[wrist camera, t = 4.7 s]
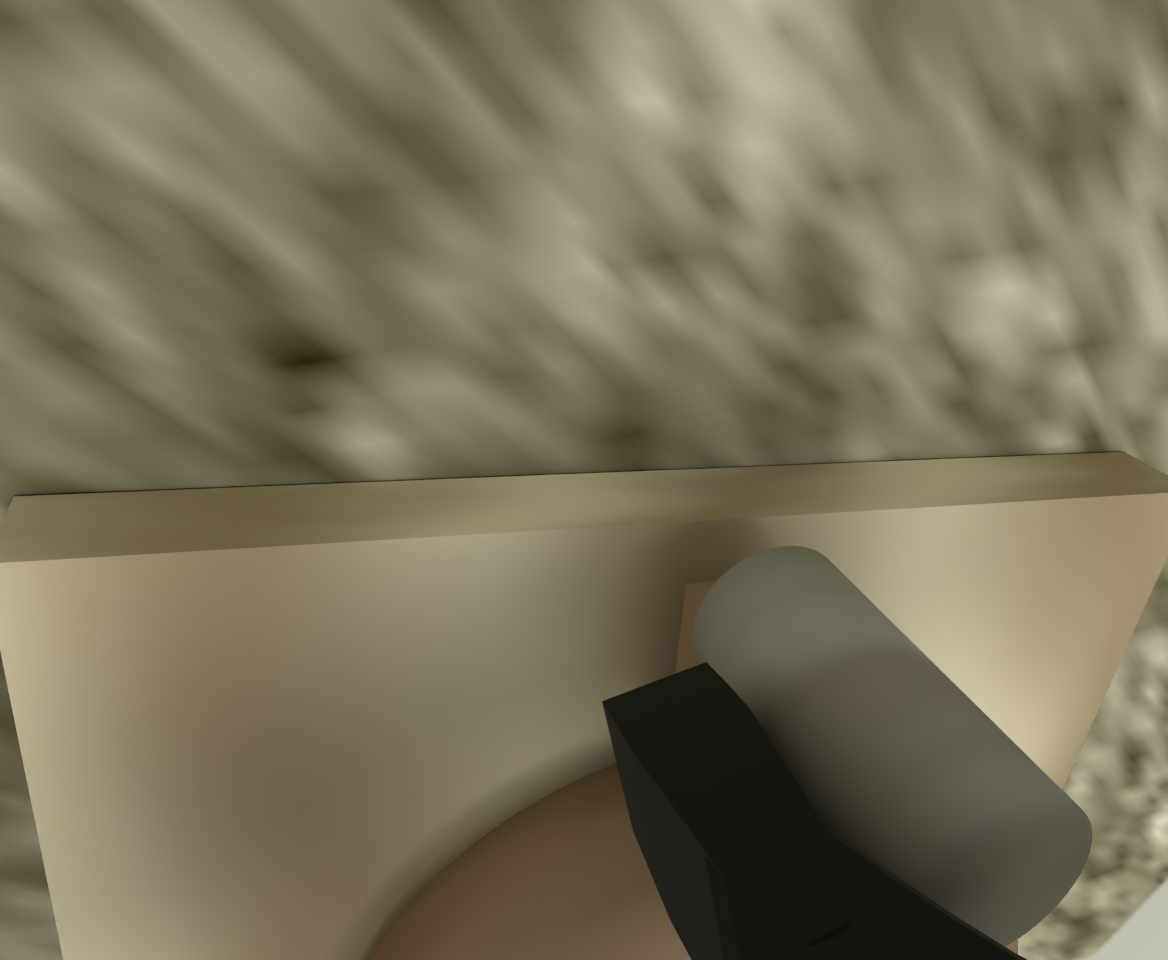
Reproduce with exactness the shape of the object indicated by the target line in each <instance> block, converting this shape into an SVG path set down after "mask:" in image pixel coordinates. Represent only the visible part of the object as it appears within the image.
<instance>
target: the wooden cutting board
mask: <svg viewBox="0 0 1168 960" xmlns="http://www.w3.org/2000/svg"><path fill="white" fill-rule="evenodd" d="M780 546H802V547H806V548H810V549H813V550H815V551H818V552H819V553H821V554H823V555H824V556H825V557H826V558H828V559H829V560H830V561H831V562H832V563H833V564H834V565H835V566H836V567H837V568H838V569H839V570H840V571H841V572H842V573H843V574H844V575H845V576H846V577H847V578H848V579H849V580H850V581H851V582H852V583H853V584H854V585H855V586H856V587H857V588H858V589H859V590H860V591H861V592H862V593H863V594H864V595H865V596H866V597H867V598H868V599H869V600H870V601H871V602H872V603H873V604H874V605H875V606H876V607H877V608H878V609H880V610H881V611H882V612H883V613H884V614H885V615H886V616H887V617H888V618H889V619H890V620H891V621H892V622H893V623H894V624H895V625H896V626H897V627H898V628H899V629H900V630H901V631H902V632H903V633H904V634H905V635H906V636H907V637H908V638H909V639H910V640H911V641H912V642H913V643H914V644H915V645H916V646H917V647H918V648H919V649H920V650H921V651H922V652H923V653H924V654H925V655H926V656H927V657H928V658H929V659H930V660H931V661H932V662H933V663H934V664H935V665H936V666H937V667H938V668H939V669H940V670H941V671H942V672H943V673H944V674H945V675H946V676H947V677H948V678H949V679H950V680H951V681H952V682H953V683H954V684H955V685H956V686H957V687H958V688H959V689H960V690H961V691H962V692H963V693H965V694H966V695H967V696H968V697H969V698H970V699H971V700H972V701H973V702H974V703H975V704H976V705H977V706H978V707H979V708H980V709H981V710H982V711H983V712H984V713H985V714H986V715H987V716H988V717H989V718H990V719H991V720H992V721H993V722H994V723H995V724H996V725H997V726H998V727H999V728H1000V729H1001V730H1002V731H1003V732H1004V733H1005V734H1006V735H1007V736H1008V737H1009V738H1010V739H1011V740H1012V741H1013V742H1014V743H1015V744H1016V745H1017V746H1018V747H1019V748H1020V749H1021V750H1022V751H1023V752H1024V753H1025V754H1026V755H1027V756H1028V757H1029V758H1030V759H1031V760H1032V761H1033V762H1034V763H1035V764H1036V765H1037V766H1038V767H1039V768H1040V769H1041V770H1042V771H1043V772H1044V773H1045V774H1046V775H1047V776H1048V777H1050V778H1051V779H1052V780H1053V781H1054V782H1055V783H1056V784H1057V785H1058V786H1059V787H1060V788H1061V789H1062V790H1063V787H1064V785H1065V783H1066V781H1067V779H1068V776H1069V774H1070V772H1071V770H1072V767H1073V765H1074V763H1075V761H1076V759H1077V756H1078V754H1079V752H1080V750H1081V747H1082V745H1083V743H1084V741H1085V739H1086V736H1087V734H1088V732H1089V730H1090V727H1091V725H1092V723H1093V721H1094V719H1095V716H1096V714H1097V712H1098V710H1099V707H1100V705H1101V703H1102V701H1103V699H1104V696H1105V694H1106V692H1107V690H1108V687H1109V685H1110V683H1111V681H1112V679H1113V676H1114V674H1115V672H1116V670H1117V667H1118V665H1119V663H1120V661H1121V659H1122V656H1123V654H1124V652H1125V650H1126V648H1127V645H1128V643H1129V641H1130V639H1131V636H1132V634H1133V632H1134V630H1135V628H1136V625H1137V623H1138V621H1139V619H1140V616H1141V614H1142V612H1143V610H1144V608H1145V605H1146V603H1147V601H1148V599H1149V596H1150V594H1151V592H1152V590H1153V588H1154V585H1155V583H1156V581H1157V579H1158V576H1159V574H1160V572H1161V570H1162V568H1163V565H1164V563H1165V561H1166V559H1167V556H1168V475H1166V474H1164V473H1162V472H1160V471H1158V470H1156V469H1155V468H1153V467H1151V466H1149V465H1147V464H1145V463H1143V462H1141V461H1140V460H1138V459H1136V458H1134V457H1132V456H1130V455H1128V454H1126V453H1125V452H1106V453H1081V454H1056V455H1031V456H1007V457H982V458H957V459H932V460H907V461H882V462H857V463H832V464H807V465H782V466H758V467H733V468H708V469H683V470H658V471H633V472H608V473H583V474H558V475H533V476H509V477H484V478H459V479H434V480H409V481H384V482H359V483H334V484H309V485H284V486H260V487H235V488H210V489H185V490H160V491H135V492H110V493H85V494H60V495H35V496H14V497H13V499H12V502H11V504H10V506H9V508H8V510H7V512H6V515H5V517H4V519H3V521H2V523H1V525H0V652H1V657H2V661H3V666H4V671H5V676H6V681H7V686H8V691H9V696H10V701H11V706H12V711H13V715H14V720H15V725H16V730H17V735H18V740H19V745H20V750H21V755H22V760H23V765H24V770H25V774H26V779H27V784H28V789H29V794H30V799H31V804H32V809H33V814H34V819H35V824H36V828H37V833H38V838H39V843H40V848H41V853H42V858H43V863H44V868H45V873H46V878H47V882H48V887H49V892H50V897H51V902H52V907H53V912H54V917H55V922H56V927H57V932H58V937H59V941H60V946H61V951H62V956H63V960H370V958H371V957H372V955H373V953H374V952H375V950H376V948H377V946H378V945H379V943H380V941H381V940H382V939H383V937H384V936H385V935H386V933H387V932H388V931H389V929H390V928H391V927H392V925H393V924H394V923H395V922H396V920H397V919H398V918H399V916H400V915H401V914H402V912H403V911H404V910H405V908H406V907H407V906H408V905H409V904H410V903H411V902H412V901H413V900H414V899H415V898H416V897H417V896H418V895H419V893H420V892H421V891H422V890H423V889H424V888H425V887H426V886H427V885H428V884H429V883H430V882H431V881H432V880H433V879H434V878H435V877H436V876H437V875H438V874H439V873H440V872H441V871H442V870H443V869H445V868H446V867H447V866H448V865H449V864H450V863H452V862H453V861H454V860H455V859H456V858H457V857H459V856H460V855H461V854H462V853H463V852H465V851H466V850H467V849H468V848H469V847H470V846H472V845H473V844H474V843H475V842H476V841H478V840H479V839H481V838H482V837H484V836H485V835H486V834H488V833H489V832H491V831H492V830H494V829H495V828H496V827H498V826H499V825H501V824H502V823H504V822H505V821H506V820H508V819H509V818H511V817H512V816H514V815H515V814H516V813H518V812H520V811H521V810H523V809H525V808H527V807H528V806H530V805H532V804H534V803H535V802H537V801H539V800H541V799H542V798H544V797H546V796H548V795H550V794H551V793H553V792H555V791H557V790H558V789H560V788H562V787H564V786H566V785H568V784H570V783H573V782H575V781H577V780H579V779H581V778H583V777H586V776H588V775H590V774H592V773H594V772H597V771H599V770H601V769H603V768H605V767H608V766H610V765H613V764H616V763H617V762H616V758H615V754H614V750H613V746H612V742H611V737H610V733H609V729H608V725H607V721H606V716H605V712H604V708H603V704H602V701H604V700H607V699H609V698H612V697H614V696H617V695H620V694H622V693H625V692H628V691H630V690H633V689H636V688H638V687H641V686H644V685H646V684H649V683H652V682H654V681H657V680H659V679H662V678H665V677H667V676H670V675H673V674H675V670H676V662H677V654H678V645H679V637H680V628H681V620H682V612H683V603H684V595H685V587H686V584H691V583H698V582H705V581H712V580H718V579H719V578H720V577H721V576H722V575H723V574H725V573H726V572H727V571H728V570H729V569H730V568H732V567H733V566H734V565H736V564H737V563H739V562H740V561H742V560H744V559H746V558H747V557H749V556H751V555H753V554H756V553H758V552H760V551H763V550H767V549H770V548H774V547H780Z"/></svg>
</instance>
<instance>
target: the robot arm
mask: <svg viewBox="0 0 1168 960" xmlns="http://www.w3.org/2000/svg"><path fill="white" fill-rule="evenodd" d="M602 704H603V708H604V712H605V716H606V721H607V725H608V729H609V733H610V737H611V742H612V746H613V750H614V754H615V758H616V762H617V767H618V771H619V775H620V779H621V783H622V788H623V792H624V796H625V800H626V804H627V808H628V813H629V817H630V821H631V825H632V829H633V832H634V834H635V837H636V839H637V842H638V844H639V846H640V849H641V851H642V854H643V856H644V859H645V861H646V863H647V866H648V868H649V871H650V873H651V876H652V878H653V880H654V883H655V885H656V887H657V890H658V892H659V895H660V897H661V899H662V902H663V904H664V906H665V909H666V911H667V914H668V916H669V918H670V921H671V922H672V924H673V926H674V928H675V930H676V932H677V934H678V936H679V938H680V939H681V941H682V943H683V945H684V947H685V949H686V951H687V953H688V954H689V956H690V958H691V960H1026V959H1025V958H1023V957H1021V956H1020V955H1018V954H1016V953H1014V952H1013V951H1011V950H1010V949H1008V948H1006V947H1005V946H1003V945H1002V944H1000V943H998V942H997V941H995V940H993V939H992V938H990V937H989V936H987V935H985V934H984V933H982V932H981V931H979V930H977V929H976V928H974V927H973V926H971V925H969V924H968V923H966V922H965V921H963V920H961V919H960V918H958V917H957V916H955V915H954V914H952V913H951V912H949V911H948V910H946V909H944V908H943V907H941V906H940V905H938V904H937V903H935V902H934V901H932V900H931V899H929V898H928V897H926V896H925V895H923V894H922V893H920V892H919V891H918V890H916V889H915V888H913V887H912V886H910V885H909V884H907V883H906V882H904V881H903V880H901V879H900V878H899V877H897V876H896V875H894V874H893V873H892V872H890V871H889V870H887V869H886V868H885V867H883V866H882V865H880V864H879V863H878V862H876V861H875V860H873V859H872V858H870V857H869V856H868V855H866V854H865V853H863V852H862V851H861V850H859V849H858V848H856V847H855V846H854V845H852V844H851V843H850V842H848V841H847V840H846V839H844V838H843V837H842V836H840V835H839V834H838V833H836V832H835V831H834V830H832V829H831V828H830V827H828V826H827V825H826V824H824V823H823V822H822V821H821V820H819V818H818V817H817V815H816V813H815V812H814V810H813V809H812V807H811V805H810V804H809V802H808V801H807V799H806V797H805V796H804V794H803V793H802V791H801V789H800V788H799V786H798V785H797V783H796V781H795V780H794V778H793V777H792V775H791V773H790V772H789V770H788V768H787V767H786V765H785V764H784V762H783V760H782V759H781V757H780V756H779V754H778V752H777V751H776V749H775V748H774V746H773V745H772V743H771V741H770V740H769V738H768V737H767V735H766V734H765V732H764V730H763V729H762V727H761V726H760V724H759V722H758V721H757V719H756V718H755V716H754V715H753V713H752V712H751V710H750V709H749V707H748V706H747V705H746V704H745V703H744V701H743V700H742V699H741V698H740V697H739V696H738V695H737V693H736V692H735V691H734V690H733V689H732V688H731V687H730V686H729V684H728V683H727V682H726V681H725V680H724V679H723V678H722V677H721V676H720V675H719V674H718V673H717V672H716V671H715V670H714V669H713V668H712V667H711V666H710V665H709V664H708V663H707V662H705V663H702V664H699V665H697V666H694V667H691V668H689V669H686V670H683V671H681V672H678V673H675V674H673V675H670V676H667V677H665V678H662V679H659V680H657V681H654V682H652V683H649V684H646V685H644V686H641V687H638V688H636V689H633V690H630V691H628V692H625V693H622V694H620V695H617V696H614V697H612V698H609V699H607V700H604V701H602Z"/></svg>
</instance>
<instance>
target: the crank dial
mask: <svg viewBox="0 0 1168 960" xmlns="http://www.w3.org/2000/svg"><path fill="white" fill-rule="evenodd" d="M705 662H707V663H708V664H709V665H710V666H711V667H712V668H713V669H714V670H715V671H716V672H717V673H718V674H719V675H720V676H721V677H722V678H723V679H724V680H725V681H726V682H727V683H728V684H729V686H730V687H731V688H732V689H733V690H734V691H735V692H736V693H737V695H738V696H739V697H740V698H741V699H742V700H743V701H744V703H745V704H746V705H747V706H748V707H749V709H750V710H751V712H752V713H753V715H754V716H755V718H756V719H757V721H758V722H759V724H760V726H761V727H762V729H763V730H764V732H765V734H766V735H767V737H768V738H769V740H770V741H771V743H772V745H773V746H774V748H775V749H776V751H777V752H778V754H779V756H780V757H781V759H782V760H783V762H784V764H785V765H786V767H787V768H788V770H789V772H790V773H791V775H792V777H793V778H794V780H795V781H796V783H797V785H798V786H799V788H800V789H801V791H802V793H803V794H804V796H805V797H806V799H807V801H808V802H809V804H810V805H811V807H812V809H813V810H814V812H815V813H816V815H817V817H818V818H819V820H821V821H822V822H823V823H824V824H826V825H827V826H828V827H830V828H831V829H832V830H834V831H835V832H836V833H838V834H839V835H840V836H842V837H843V838H844V839H846V840H847V841H848V842H850V843H851V844H852V845H854V846H855V847H856V848H858V849H859V850H861V851H862V852H863V853H865V854H866V855H868V856H869V857H870V858H872V859H873V860H875V861H876V862H878V863H879V864H880V865H882V866H883V867H885V868H886V869H887V870H889V871H890V872H892V873H893V874H894V875H896V876H897V877H899V878H900V879H901V880H903V881H904V882H906V883H907V884H909V885H910V886H912V887H913V888H915V889H916V890H918V891H919V892H920V893H922V894H923V895H925V896H926V897H928V898H929V899H931V900H932V901H934V902H935V903H937V904H938V905H940V906H941V907H943V908H944V909H946V910H948V911H949V912H951V913H952V914H954V915H955V916H957V917H958V918H960V919H961V920H963V921H965V922H966V923H968V924H969V925H971V926H973V927H974V928H976V929H977V930H979V931H981V932H982V933H984V934H985V935H987V936H989V937H990V938H992V939H993V940H995V941H997V942H998V943H1000V944H1002V945H1003V946H1005V947H1006V948H1008V949H1010V950H1011V951H1013V952H1014V953H1016V954H1018V938H1020V937H1021V936H1022V935H1024V934H1025V933H1027V932H1028V931H1029V930H1030V929H1032V928H1033V927H1034V926H1036V925H1037V924H1038V923H1039V922H1040V921H1041V920H1042V919H1044V918H1045V917H1046V916H1047V915H1048V914H1049V913H1050V912H1051V911H1052V910H1053V909H1054V908H1055V907H1056V906H1057V905H1058V904H1059V902H1060V901H1061V900H1062V899H1063V898H1064V897H1065V895H1066V894H1067V893H1068V891H1069V890H1070V889H1071V887H1072V886H1073V885H1074V883H1075V882H1076V880H1077V878H1078V877H1079V875H1080V873H1081V871H1082V869H1083V867H1084V865H1085V863H1086V861H1087V858H1088V855H1089V852H1090V848H1091V843H1092V829H1091V824H1090V821H1089V819H1088V817H1087V815H1086V814H1085V813H1084V811H1083V810H1082V809H1081V808H1080V807H1079V806H1078V805H1077V804H1076V803H1075V802H1074V801H1073V800H1072V799H1071V798H1070V797H1069V796H1068V795H1067V794H1066V793H1065V792H1064V791H1063V790H1062V789H1061V788H1060V787H1059V786H1058V785H1057V784H1056V783H1055V782H1054V781H1053V780H1052V779H1051V778H1050V777H1048V776H1047V775H1046V774H1045V773H1044V772H1043V771H1042V770H1041V769H1040V768H1039V767H1038V766H1037V765H1036V764H1035V763H1034V762H1033V761H1032V760H1031V759H1030V758H1029V757H1028V756H1027V755H1026V754H1025V753H1024V752H1023V751H1022V750H1021V749H1020V748H1019V747H1018V746H1017V745H1016V744H1015V743H1014V742H1013V741H1012V740H1011V739H1010V738H1009V737H1008V736H1007V735H1006V734H1005V733H1004V732H1003V731H1002V730H1001V729H1000V728H999V727H998V726H997V725H996V724H995V723H994V722H993V721H992V720H991V719H990V718H989V717H988V716H987V715H986V714H985V713H984V712H983V711H982V710H981V709H980V708H979V707H978V706H977V705H976V704H975V703H974V702H973V701H972V700H971V699H970V698H969V697H968V696H967V695H966V694H965V693H963V692H962V691H961V690H960V689H959V688H958V687H957V686H956V685H955V684H954V683H953V682H952V681H951V680H950V679H949V678H948V677H947V676H946V675H945V674H944V673H943V672H942V671H941V670H940V669H939V668H938V667H937V666H936V665H935V664H934V663H933V662H932V661H931V660H930V659H929V658H928V657H927V656H926V655H925V654H924V653H923V652H922V651H921V650H920V649H919V648H918V647H917V646H916V645H915V644H914V643H913V642H912V641H911V640H910V639H909V638H908V637H907V636H906V635H905V634H904V633H903V632H902V631H901V630H900V629H899V628H898V627H897V626H896V625H895V624H894V623H893V622H892V621H891V620H890V619H889V618H888V617H887V616H886V615H885V614H884V613H883V612H882V611H881V610H880V609H878V608H877V607H876V606H875V605H874V604H873V603H872V602H871V601H870V600H869V599H868V598H867V597H866V596H865V595H864V594H863V593H862V592H861V591H860V590H859V589H858V588H857V587H856V586H855V585H854V584H853V583H852V582H851V581H850V580H849V579H848V578H847V577H846V576H845V575H844V574H843V573H842V572H841V571H840V570H839V569H838V568H837V567H836V566H835V565H834V564H833V563H832V562H831V561H830V560H829V559H828V558H826V557H825V556H824V555H823V554H821V553H819V552H818V551H815V550H813V549H810V548H806V547H802V546H780V547H774V548H770V549H767V550H763V551H760V552H758V553H756V554H753V555H751V556H749V557H747V558H746V559H744V560H742V561H740V562H739V563H737V564H736V565H734V566H733V567H732V568H730V569H729V570H728V571H727V572H726V573H725V574H723V575H722V576H721V577H720V578H719V579H718V580H712V581H705V582H698V583H691V584H686V587H685V595H684V603H683V612H682V620H681V628H680V637H679V645H678V654H677V662H676V670H675V673H678V672H681V671H683V670H686V669H689V668H691V667H694V666H697V665H699V664H702V663H705ZM370 960H691V958H690V956H689V954H688V953H687V951H686V949H685V947H684V945H683V943H682V941H681V939H680V938H679V936H678V934H677V932H676V930H675V928H674V926H673V924H672V922H671V921H670V918H669V916H668V914H667V911H666V909H665V906H664V904H663V902H662V899H661V897H660V895H659V892H658V890H657V887H656V885H655V883H654V880H653V878H652V876H651V873H650V871H649V868H648V866H647V863H646V861H645V859H644V856H643V854H642V851H641V849H640V846H639V844H638V842H637V839H636V837H635V834H634V832H633V829H632V825H631V821H630V817H629V813H628V808H627V804H626V800H625V796H624V792H623V788H622V783H621V779H620V775H619V771H618V767H617V763H616V764H613V765H610V766H608V767H605V768H603V769H601V770H599V771H597V772H594V773H592V774H590V775H588V776H586V777H583V778H581V779H579V780H577V781H575V782H573V783H570V784H568V785H566V786H564V787H562V788H560V789H558V790H557V791H555V792H553V793H551V794H550V795H548V796H546V797H544V798H542V799H541V800H539V801H537V802H535V803H534V804H532V805H530V806H528V807H527V808H525V809H523V810H521V811H520V812H518V813H516V814H515V815H514V816H512V817H511V818H509V819H508V820H506V821H505V822H504V823H502V824H501V825H499V826H498V827H496V828H495V829H494V830H492V831H491V832H489V833H488V834H486V835H485V836H484V837H482V838H481V839H479V840H478V841H476V842H475V843H474V844H473V845H472V846H470V847H469V848H468V849H467V850H466V851H465V852H463V853H462V854H461V855H460V856H459V857H457V858H456V859H455V860H454V861H453V862H452V863H450V864H449V865H448V866H447V867H446V868H445V869H443V870H442V871H441V872H440V873H439V874H438V875H437V876H436V877H435V878H434V879H433V880H432V881H431V882H430V883H429V884H428V885H427V886H426V887H425V888H424V889H423V890H422V891H421V892H420V893H419V895H418V896H417V897H416V898H415V899H414V900H413V901H412V902H411V903H410V904H409V905H408V906H407V907H406V908H405V910H404V911H403V912H402V914H401V915H400V916H399V918H398V919H397V920H396V922H395V923H394V924H393V925H392V927H391V928H390V929H389V931H388V932H387V933H386V935H385V936H384V937H383V939H382V940H381V941H380V943H379V945H378V946H377V948H376V950H375V952H374V953H373V955H372V957H371V958H370Z"/></svg>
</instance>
